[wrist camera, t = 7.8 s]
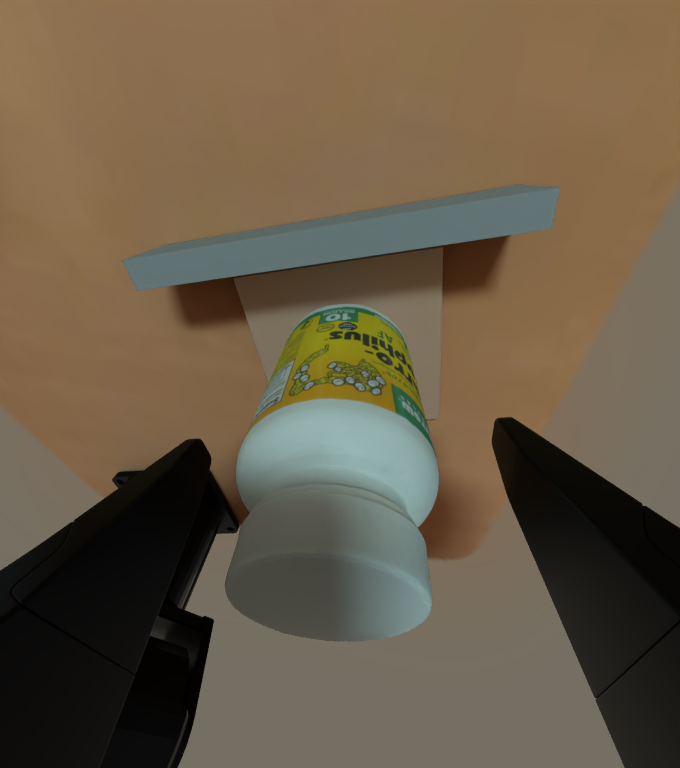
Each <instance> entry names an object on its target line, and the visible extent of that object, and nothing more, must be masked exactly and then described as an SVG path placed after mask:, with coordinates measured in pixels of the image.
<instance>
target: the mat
mask: <svg viewBox="0 0 680 768" xmlns="http://www.w3.org/2000/svg"><path fill="white" fill-rule="evenodd" d="M233 280H234V283H235V286H236V288H237V291H238V294H239V297H240V300H241V303H242V306H243V309H244V312H245V315H246V318H247V321H248V324H249V327H250V330H251V333H252V336H253V339H254V342H255V344H256V347H257V350H258V353H259V356H260V359H261V362H262V365H263V368H264V371H265V374H266V377H267V380H268V383H269V381H270V378H271V376H272V374H273V371H274V369H275V367H276V365H277V362H278V360H279V358H280V356H281V353H282V351H283V349H284V346H285V344H286V342H287V340H288V338H289V336H290V334H291V332H292V330H293V329H294V327H295V326H296V325H297V324H298V323H299V321H300V320H302V319H303V318H304V317H305V316H306V315H308V314H309V313H311V312H312V311H314V310H316V309H319V308H322V307H325V306H329V305H337V304H360V305H364V306H367V307H370V308H373V309H375V310H377V311H379V312H380V313H382V314H384V315H385V316H387V317H388V318H389V319H390V320H391V321H392V322H393V323H394V324H395V325H396V326H397V327H398V328H399V329H400V331H401V333H402V334H403V336H404V339H405V341H406V344H407V348H408V350H409V355H410V358H411V361H412V366H413V370H414V374H415V378H416V381H417V385H418V389H419V393H420V397H421V402H422V405H423V409H424V414H425V417H426V420H429V419H439V408H440V367H441V326H442V285H443V246H442V245H441V246H434V247H427V248H421V249H414V250H407V251H401V252H394V253H387V254H381V255H374V256H367V257H360V258H354V259H347V260H340V261H334V262H327V263H320V264H314V265H307V266H300V267H294V268H287V269H280V270H274V271H267V272H260V273H253V274H247V275H240V276H235V277H234V278H233Z"/></svg>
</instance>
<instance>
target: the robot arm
mask: <svg viewBox="0 0 680 768" xmlns="http://www.w3.org/2000/svg"><path fill="white" fill-rule="evenodd" d="M492 446H493V450H494V453H495V457H496V460H497V463H498V467H499V470H500V473H501V477H502V480H503V484H504V487H505V490H506V493H507V496H508V499H509V501H510V504H511V506H512V508H513V511H514V513H515V515H516V518H517V520H518V522H519V525H520V527H521V528H522V531H523V533H524V536H525V538H526V541H527V543H528V545H529V548H530V550H531V552H532V555H533V557H534V559H535V561H536V563H537V566H538V568H539V571H540V573H541V575H542V577H543V580H544V582H545V585H546V587H547V589H548V591H549V594H550V596H551V598H552V601H553V603H554V605H555V607H556V610H557V612H558V614H559V617H560V619H561V621H562V624H563V626H564V628H565V631H566V633H567V635H568V638H569V640H570V642H571V644H572V647H573V649H574V651H575V654H576V656H577V658H578V661H579V663H580V665H581V668H582V670H583V672H584V674H585V676H586V679H587V681H588V684H589V686H590V688H591V690H592V693H593V695H594V697H595V698H597V699H596V703H597V705H598V707H599V710H600V712H601V714H602V716H603V719H604V721H605V723H606V725H607V728H608V730H609V732H610V735H611V737H612V740H613V742H614V744H615V746H616V749H617V751H618V753H619V756H620V758H621V760H622V763H623V765H624V767H625V768H680V528H679V527H677V526H676V525H674V524H672V523H671V522H670V521H668V520H666V519H665V518H663V517H662V516H660V515H659V514H657V513H656V512H654V511H653V510H651V509H650V508H648V507H647V506H643V505H642V503H641V502H639V501H638V500H636V499H634V498H633V497H632V496H630V495H628V494H627V493H625V492H624V491H622V490H621V489H619V488H618V487H616V486H615V485H613V484H612V483H610V482H609V481H607V480H606V479H604V478H603V477H601V476H600V475H598V474H597V473H595V472H594V471H592V470H591V469H589V468H588V467H586V466H585V465H583V464H582V463H580V462H579V461H577V460H576V459H574V458H573V457H571V456H570V455H568V454H567V453H565V452H564V451H562V450H561V449H559V448H558V447H556V446H555V445H553V444H552V443H550V442H549V441H547V440H546V439H544V438H543V437H541V436H540V435H538V434H537V433H535V432H534V431H532V430H531V429H529V428H528V427H526V426H525V425H523V424H522V423H520V422H519V421H517V420H515V419H514V418H512V417H504V418H497V419H496V420H495V423H494V429H493V435H492ZM210 465H211V456H210V454H209V452H208V450H207V448H206V446H205V445H204V443H203V441H202V440H201V439H188V440H186V441H184V442H183V443H181V444H180V445H179V446H177V447H176V448H174V449H173V450H172V451H170V452H169V453H167V454H166V455H165V456H163V457H162V458H160V459H159V460H158V461H156V462H155V463H153V464H152V465H151V466H149V467H148V468H146V469H145V470H144V471H129V472H118V473H117V474H116V475H115V476H114V478H113V479H112V481H113V482H114V484H115V485H116V486H117V487H118V489H117V490H116V491H114V492H113V493H111V494H110V495H109V496H107V497H106V498H104V499H103V500H102V501H101V502H99V503H97V504H96V505H95V506H93V507H92V508H90V509H89V510H88V511H86V512H85V513H83V514H82V515H81V516H79V517H78V518H76V519H75V520H74V522H71V523H69V524H68V525H67V526H65V527H64V528H63V529H61V530H60V531H58V532H57V533H55V534H54V535H52V536H51V537H49V538H48V539H47V540H45V541H44V542H42V543H41V544H40V545H38V546H37V547H35V548H34V549H32V550H31V551H29V552H28V553H26V554H25V555H23V556H22V557H20V558H19V559H17V560H16V561H14V562H12V563H11V564H9V565H8V566H7V567H5V568H3V569H2V570H0V768H177V767H178V765H179V763H180V761H181V758H182V756H183V753H184V751H185V748H186V745H187V743H188V739H189V736H190V733H191V730H192V726H193V721H194V718H195V713H196V708H197V702H198V698H199V693H200V688H201V683H202V678H203V673H204V668H205V663H206V658H207V653H208V648H209V643H210V638H211V632H212V628H213V623H214V620H213V619H212V618H209V617H206V616H204V617H201V616H198V615H196V614H193V613H191V612H188V611H185V608H186V606H187V603H188V601H189V598H190V596H191V594H192V591H193V589H194V586H195V584H196V582H197V579H198V577H199V574H200V572H201V570H202V567H203V565H204V562H205V560H206V558H207V555H208V553H209V551H210V548H211V546H212V543H213V541H214V538H215V536H216V534H220V533H221V534H222V533H236V532H237V531H238V528H239V523H238V521H237V519H236V518H235V516H234V514H233V512H232V511H231V509H230V507H229V505H228V504H227V502H226V500H225V498H224V497H223V495H222V493H221V492H220V490H219V488H218V486H217V485H216V483H215V481H214V479H213V478H212V476H211V474H210V472H209V469H210Z"/></svg>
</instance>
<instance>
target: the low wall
mask: <svg viewBox="0 0 680 768" xmlns="http://www.w3.org/2000/svg"><path fill="white" fill-rule="evenodd" d="M559 189H560V187H552V186H537V185H523V184H520V185H514V186H508V187H502V188H497V189H491V190H485V191H479V192H473V193H467V194H462V195H456V196H450V197H444V198H438V199H432V200H426V201H421V202H415V203H409V204H403V205H397V206H391V207H385V208H380V209H374V210H368V211H362V212H356V213H350V214H345V215H339V216H333V217H327V218H321V219H315V220H309V221H304V222H298V223H292V224H286V225H280V226H274V227H269V228H263V229H257V230H251V231H245V232H239V233H233V234H228V235H222V236H216V237H210V238H204V239H198V240H193V241H187V242H181V243H175V244H169V245H163V246H161V247H158V248H155V249H152V250H149V251H146V252H144V253H141V254H138V255H135V256H132V257H129V258H127V259H124V260H122V262H123V264H124V266H125V268H126V270H127V272H128V274H129V276H130V278H131V280H132V281H133V283H134V285H135V287H136V289H137V291H140V290H146V289H153V288H160V287H167V286H173V285H180V284H187V283H193V282H200V281H207V280H213V279H220V278H227V277H233V276H240V275H247V274H253V273H260V272H267V271H274V270H280V269H287V268H294V267H300V266H307V265H314V264H320V263H327V262H334V261H340V260H347V259H354V258H360V257H367V256H374V255H381V254H387V253H394V252H401V251H407V250H414V249H421V248H427V247H434V246H441V245H447V244H454V243H461V242H467V241H474V240H481V239H488V238H494V237H501V236H508V235H514V234H521V233H528V232H534V231H541V230H548V229H552V225H553V220H554V215H555V210H556V205H557V200H558V194H559Z"/></svg>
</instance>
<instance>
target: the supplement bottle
mask: <svg viewBox="0 0 680 768" xmlns="http://www.w3.org/2000/svg"><path fill="white" fill-rule="evenodd" d="M236 481H237V487H238V491H239V494H240V497H241V499H242V501H243V503H244V505H245V507H246V508H247V510H248V511H249V513H250V514H249V515H248V516H247V517H246V519H245V520H244V522H243V524H242V526H241V529H240V532H239V538H238V541H237V545H236V548H235V551H234V554H233V557H232V561H231V564H230V567H229V570H228V573H227V577H226V581H225V590H226V594H227V597H228V599H229V601H230V602H231V604H232V605H233V606H234V607H235V608H236V609H237V610H238V611H239V612H241V613H242V614H243V615H245V616H247V617H248V618H250V619H252V620H254V621H255V622H257V623H259V624H262V625H263V626H266V627H269V628H271V629H274V630H277V631H280V632H282V633H285V634H291V635H294V636H299V637H305V638H311V639H318V640H326V641H367V640H376V639H381V638H387V637H392V636H396V635H399V634H402V633H405V632H407V631H409V630H412V629H413V628H415V627H417V626H418V625H420V624H421V623H422V622H423V621H424V620H425V619H426V618H427V617H428V615H429V613H430V612H431V608H432V593H431V584H430V576H429V569H428V561H427V549H426V543H425V540H424V538H423V536H422V534H421V532H420V531H419V529H418V527H419V526H420V525H421V524H422V523H423V522H424V520H425V519H426V518H427V516H428V515H429V513H430V511H431V510H432V507H433V505H434V503H435V500H436V497H437V493H438V487H439V472H438V465H437V459H436V455H435V451H434V447H433V444H432V440H431V436H430V432H429V428H428V425H427V422H426V417H425V414H424V409H423V405H422V402H421V397H420V393H419V389H418V385H417V381H416V378H415V374H414V370H413V366H412V361H411V358H410V355H409V350H408V348H407V344H406V341H405V339H404V336H403V334H402V333H401V331H400V329H399V328H398V327H397V326H396V325H395V324H394V323H393V322H392V321H391V320H390V319H389V318H388V317H387V316H385V315H384V314H382V313H380V312H379V311H377V310H375V309H373V308H370V307H367V306H364V305H360V304H337V305H329V306H325V307H322V308H319V309H316V310H314V311H312V312H311V313H309V314H308V315H306V316H305V317H304V318H303V319H302V320H300V321H299V323H298V324H297V325H296V326H295V327H294V329H293V330H292V332H291V334H290V336H289V338H288V340H287V342H286V344H285V346H284V349H283V351H282V353H281V356H280V358H279V360H278V362H277V365H276V367H275V369H274V371H273V374H272V376H271V378H270V381H269V383H268V386H267V388H266V390H265V392H264V395H263V397H262V399H261V402H260V404H259V406H258V408H257V411H256V413H255V415H254V417H253V420H252V422H251V424H250V427H249V429H248V431H247V434H246V436H245V438H244V441H243V443H242V446H241V448H240V451H239V454H238V458H237V464H236Z"/></svg>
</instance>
